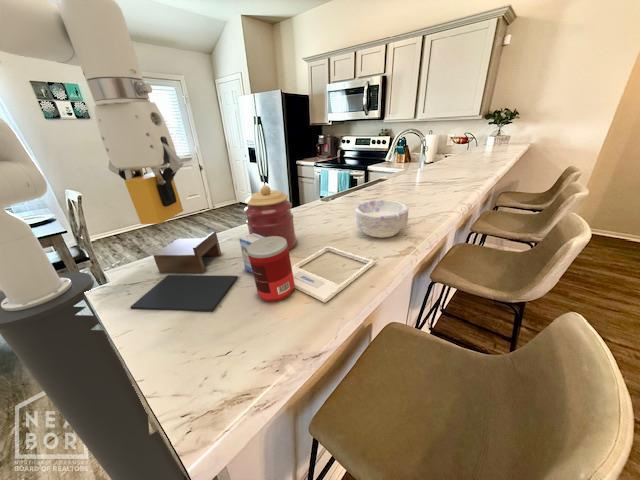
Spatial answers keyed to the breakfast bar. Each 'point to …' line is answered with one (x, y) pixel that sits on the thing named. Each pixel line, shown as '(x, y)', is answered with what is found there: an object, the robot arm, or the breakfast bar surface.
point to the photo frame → (319, 285)
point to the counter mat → (186, 293)
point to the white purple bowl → (381, 217)
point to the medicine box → (244, 244)
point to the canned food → (271, 268)
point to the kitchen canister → (270, 215)
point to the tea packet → (151, 200)
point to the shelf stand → (187, 254)
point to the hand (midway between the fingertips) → (158, 203)
